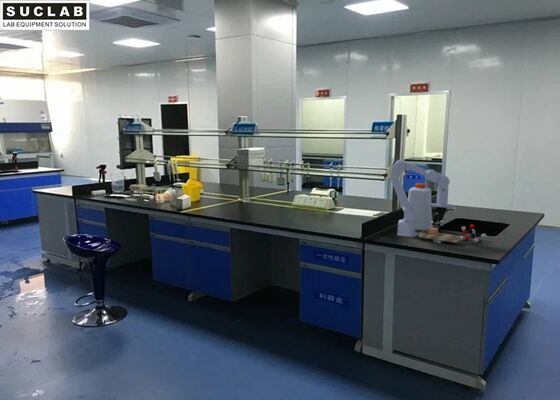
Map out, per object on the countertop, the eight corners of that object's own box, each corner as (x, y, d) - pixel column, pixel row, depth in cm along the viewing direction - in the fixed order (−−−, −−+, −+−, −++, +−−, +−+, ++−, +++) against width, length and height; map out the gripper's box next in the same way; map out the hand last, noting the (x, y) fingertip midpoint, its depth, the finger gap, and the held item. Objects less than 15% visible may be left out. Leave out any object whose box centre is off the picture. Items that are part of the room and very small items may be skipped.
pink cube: (428, 235, 237) (428, 228, 236) (430, 233, 239) (430, 227, 239) (435, 236, 234) (436, 229, 234) (437, 234, 237) (438, 228, 237)
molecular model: (471, 245, 243) (477, 228, 244) (483, 248, 236) (489, 231, 236) (452, 236, 237) (459, 219, 238) (464, 238, 230) (470, 221, 230)
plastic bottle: (403, 229, 264) (405, 184, 259) (408, 224, 277) (410, 181, 273) (428, 232, 257) (431, 185, 252) (432, 227, 270) (435, 183, 266)
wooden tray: (418, 239, 239) (418, 230, 238) (422, 237, 244) (423, 228, 243) (455, 245, 227) (456, 236, 226) (459, 242, 232) (459, 233, 232)
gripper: (427, 196, 241) (425, 220, 243) (453, 199, 233) (452, 223, 235) (431, 195, 247) (429, 218, 249) (457, 197, 238) (455, 221, 240)
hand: (440, 220), depth 242 cm, fingers closed
